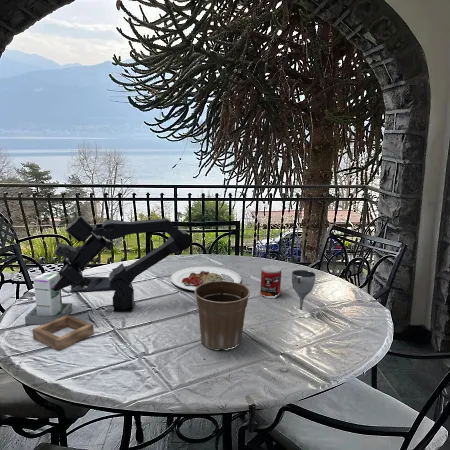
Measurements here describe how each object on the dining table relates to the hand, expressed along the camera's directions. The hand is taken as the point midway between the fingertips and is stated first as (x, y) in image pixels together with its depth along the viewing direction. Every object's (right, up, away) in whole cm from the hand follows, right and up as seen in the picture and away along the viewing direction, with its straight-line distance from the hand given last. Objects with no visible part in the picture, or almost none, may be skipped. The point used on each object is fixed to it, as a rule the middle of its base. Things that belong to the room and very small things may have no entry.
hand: (54, 285), depth 127 cm
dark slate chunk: (+5, -5, +31) cm, 32 cm away
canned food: (+73, -8, +26) cm, 78 cm away
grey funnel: (+82, -12, +10) cm, 84 cm away
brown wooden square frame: (+7, -14, -11) cm, 19 cm away
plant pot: (+54, -15, -11) cm, 58 cm away
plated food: (+48, -5, +39) cm, 62 cm away
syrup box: (-2, -11, +2) cm, 11 cm away
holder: (-2, -11, +2) cm, 11 cm away
